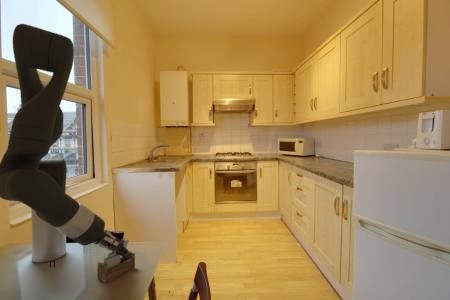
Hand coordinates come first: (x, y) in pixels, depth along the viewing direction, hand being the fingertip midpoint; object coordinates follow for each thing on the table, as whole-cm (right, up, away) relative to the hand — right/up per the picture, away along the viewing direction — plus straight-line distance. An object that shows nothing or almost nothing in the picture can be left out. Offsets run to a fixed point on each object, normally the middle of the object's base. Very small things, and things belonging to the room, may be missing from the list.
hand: (123, 252), depth 69 cm
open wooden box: (-1, -5, -2) cm, 6 cm away
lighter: (-1, -4, -2) cm, 5 cm away
